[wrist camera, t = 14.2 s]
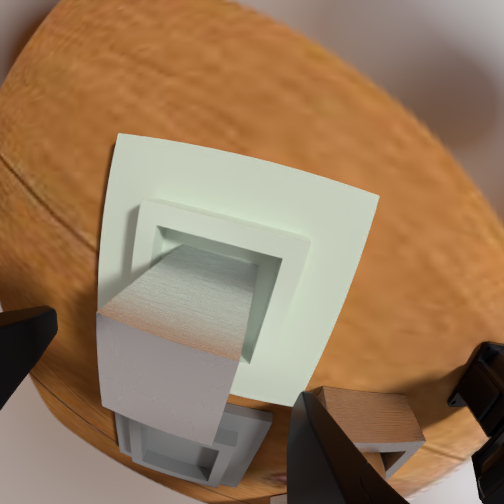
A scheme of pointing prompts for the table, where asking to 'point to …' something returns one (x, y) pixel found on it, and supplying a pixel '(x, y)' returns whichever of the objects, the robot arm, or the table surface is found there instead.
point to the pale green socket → (241, 245)
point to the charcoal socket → (198, 447)
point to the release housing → (376, 423)
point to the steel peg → (176, 342)
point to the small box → (279, 499)
